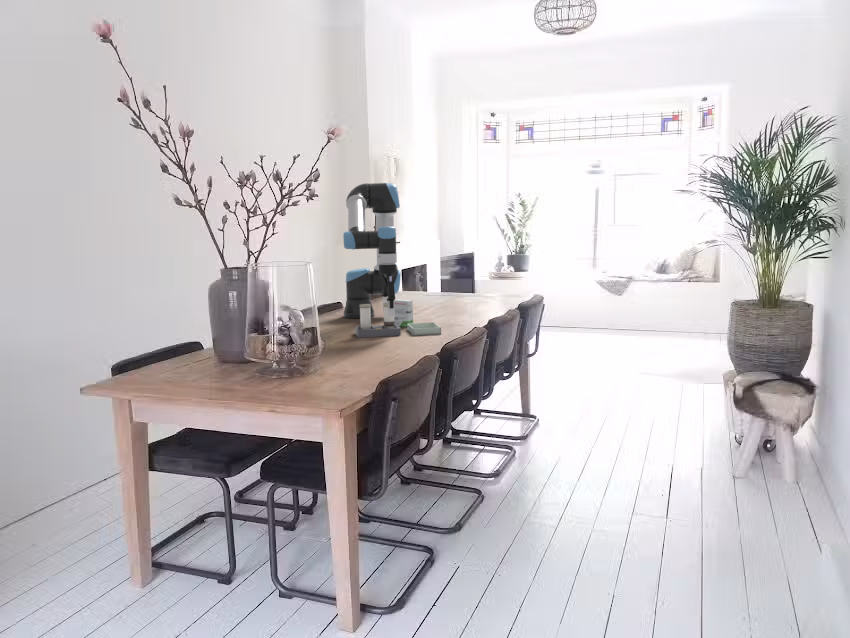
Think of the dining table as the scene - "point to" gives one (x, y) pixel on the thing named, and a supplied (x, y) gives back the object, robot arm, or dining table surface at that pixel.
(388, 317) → the fuse
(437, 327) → the parts tray
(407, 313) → the ink box
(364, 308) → the fuse
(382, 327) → the board
